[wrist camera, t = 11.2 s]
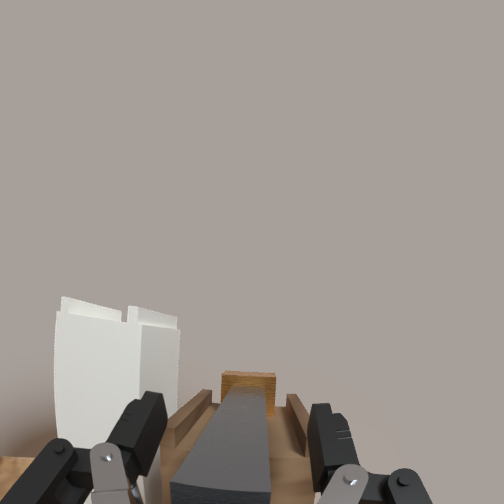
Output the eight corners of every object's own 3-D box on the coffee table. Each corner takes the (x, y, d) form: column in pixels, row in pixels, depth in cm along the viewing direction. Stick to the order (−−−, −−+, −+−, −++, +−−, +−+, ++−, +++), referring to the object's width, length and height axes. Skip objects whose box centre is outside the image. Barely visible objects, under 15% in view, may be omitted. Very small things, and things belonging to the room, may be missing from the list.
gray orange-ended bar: (272, 409, 26) (274, 373, 27) (294, 550, 5) (309, 465, 6) (224, 406, 26) (225, 370, 27) (147, 533, 5) (137, 448, 6)
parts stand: (181, 527, 25) (181, 317, 34) (158, 572, 13) (143, 307, 23) (120, 511, 25) (112, 309, 35) (85, 546, 13) (58, 295, 23)
